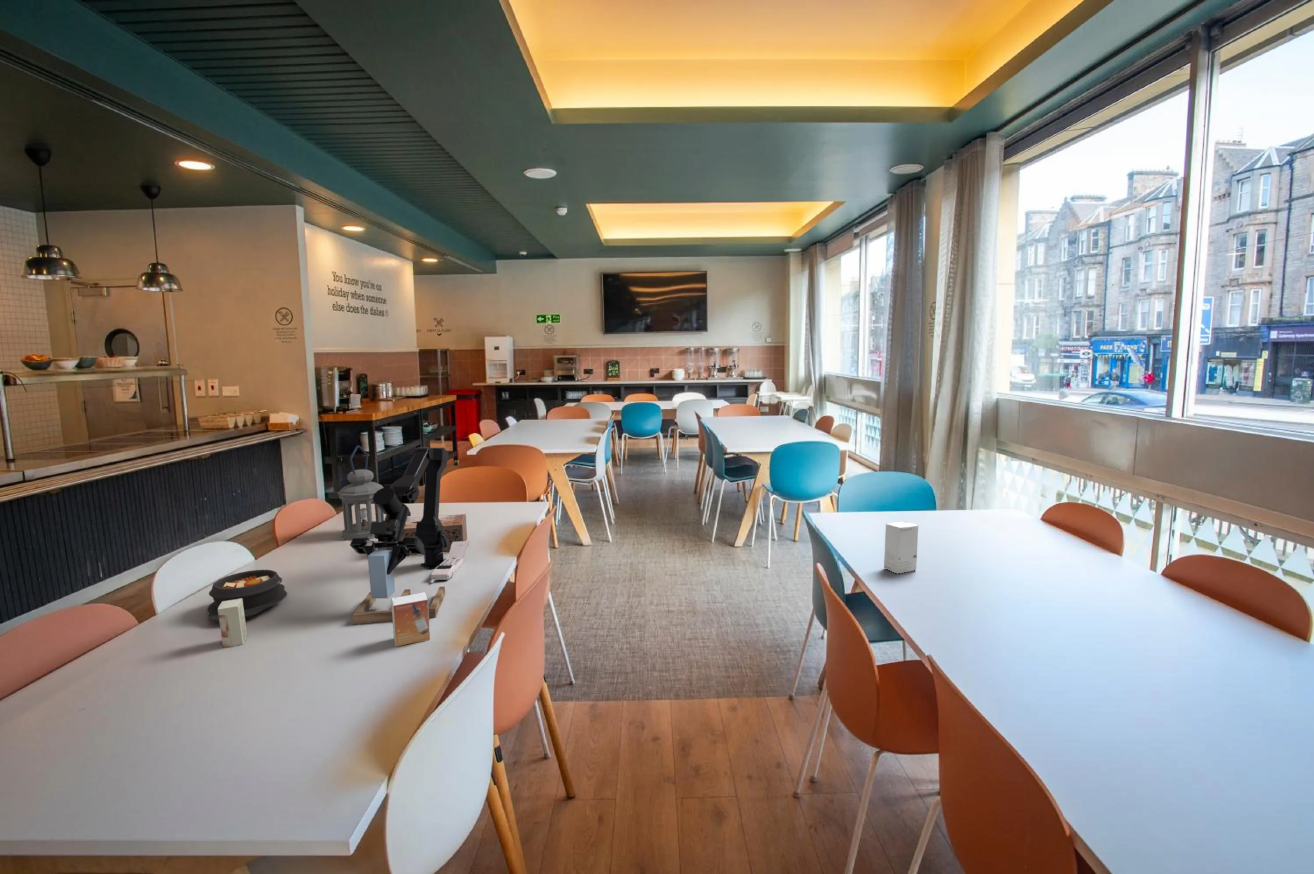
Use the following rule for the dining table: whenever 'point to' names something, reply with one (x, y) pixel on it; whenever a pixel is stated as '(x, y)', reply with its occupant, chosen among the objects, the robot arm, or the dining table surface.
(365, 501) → the lantern
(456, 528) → the tissue box cover
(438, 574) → the mobile phone
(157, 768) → the dining table surface
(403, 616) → the small box
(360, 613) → the comb rack
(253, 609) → the casserole
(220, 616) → the skincare box
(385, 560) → the pale blue tall block
